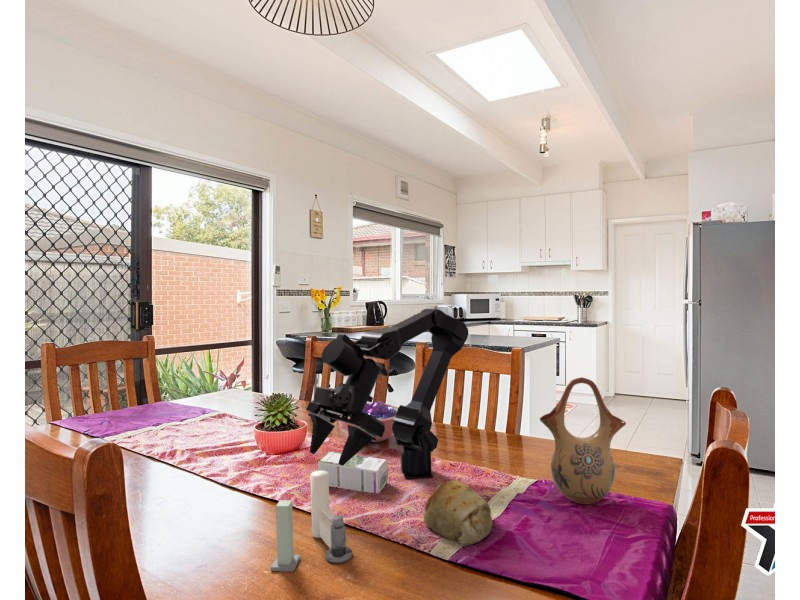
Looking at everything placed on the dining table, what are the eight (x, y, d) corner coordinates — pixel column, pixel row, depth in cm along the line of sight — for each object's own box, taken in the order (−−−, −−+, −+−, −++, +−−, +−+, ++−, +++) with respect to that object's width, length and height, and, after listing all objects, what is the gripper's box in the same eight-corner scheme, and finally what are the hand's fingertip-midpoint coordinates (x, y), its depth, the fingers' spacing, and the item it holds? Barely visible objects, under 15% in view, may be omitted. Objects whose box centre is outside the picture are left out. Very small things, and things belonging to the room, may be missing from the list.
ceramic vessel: (541, 507, 95) (540, 381, 94) (539, 487, 104) (538, 372, 103) (631, 514, 92) (631, 383, 91) (621, 493, 101) (620, 374, 100)
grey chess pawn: (352, 547, 82) (351, 518, 82) (352, 562, 78) (351, 532, 78) (325, 549, 82) (325, 520, 82) (324, 565, 77) (323, 534, 77)
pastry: (423, 508, 96) (422, 468, 96) (486, 508, 96) (485, 468, 95) (424, 548, 82) (423, 501, 82) (498, 547, 82) (498, 500, 81)
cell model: (362, 426, 151) (361, 390, 151) (415, 437, 139) (414, 398, 139) (323, 441, 137) (322, 402, 137) (378, 455, 126) (377, 412, 125)
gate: (349, 554, 80) (348, 490, 79) (331, 560, 78) (330, 494, 78) (326, 526, 89) (324, 469, 88) (309, 531, 87) (307, 473, 87)
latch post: (278, 557, 80) (276, 497, 79) (300, 558, 79) (298, 498, 79) (270, 570, 76) (269, 508, 76) (293, 571, 76) (291, 508, 75)
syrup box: (317, 485, 108) (379, 497, 103) (317, 460, 107) (379, 471, 102) (329, 473, 113) (388, 483, 109) (328, 449, 112) (388, 459, 108)
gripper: (305, 363, 102) (269, 433, 96) (364, 374, 89) (326, 456, 83) (340, 386, 109) (308, 453, 103) (400, 399, 96) (367, 476, 90)
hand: (325, 458), depth 94 cm, fingers open, 9 cm apart
